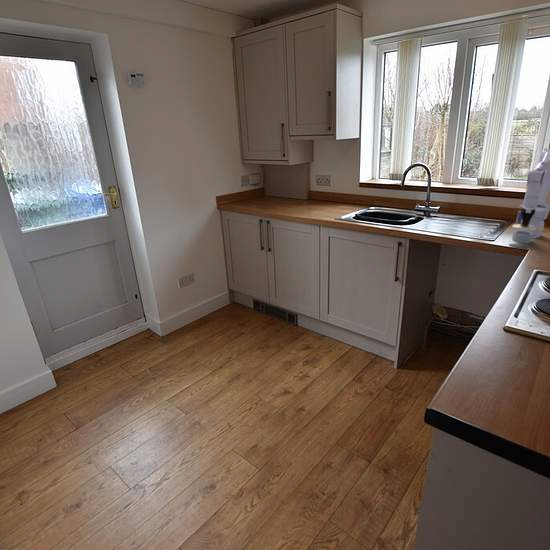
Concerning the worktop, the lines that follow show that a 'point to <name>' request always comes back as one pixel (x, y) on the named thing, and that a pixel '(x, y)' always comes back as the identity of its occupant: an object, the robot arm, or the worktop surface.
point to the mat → (518, 246)
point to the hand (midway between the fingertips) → (524, 224)
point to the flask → (519, 218)
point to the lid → (524, 227)
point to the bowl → (522, 236)
